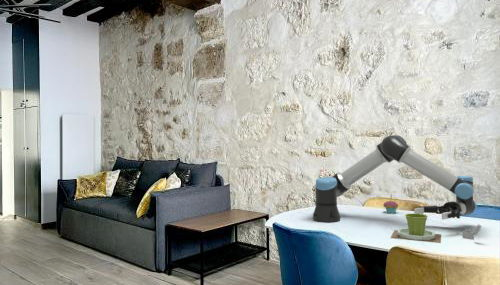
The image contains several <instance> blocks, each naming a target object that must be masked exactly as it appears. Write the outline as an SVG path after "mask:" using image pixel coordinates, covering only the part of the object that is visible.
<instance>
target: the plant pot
mask: <svg viewBox="0 0 500 285" xmlns="http://www.w3.org/2000/svg"><path fill="white" fill-rule="evenodd" d="M404 217H405V219H406V222H407V228H408V229H409V234H410V235H418V236H423V235H424V231H425V229H426V223H427V219H428V218H429V216H428V215H427V214H424V213H423V214H414V213H413V212H412V213H406V214H404Z"/></svg>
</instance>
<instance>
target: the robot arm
mask: <svg viewBox="0 0 500 285" xmlns="http://www.w3.org/2000/svg"><path fill="white" fill-rule="evenodd" d="M407 143H408V142H407V141H406V139H405V138H404V137H403V136H401V135H398V134H393V135H387V136H385V137H384V138H383V139H382V140H381V142H380V143H378V144H377V145H376V146H375V149H374V150H373V151H371V152H370V153H369V154H367V155H366V156H364V157H363V158H362V159H360V160H358V161H357V162H356V163H354V164H352V166H349V168H347V169H346V170H344V171H342V172H337V173H335V174H334V175H332V176H323V177H318V178H316V180H315V185H314V186H315V207H314V210H313V214H312V220H313V221H314V222H321V223H336V222H340V221H341V215H340V211H339V209H338V197H342V195H344V193H346V192H347V191H349V190H351V185H353V184H355V183H356V182H359V180H361V179H362V178H363V177H366V176H367V175H368V174H369V173H372V172H373V171H375V170H376V169H377V168H379V167H380V166H382V165H383V164H385V163H389V164H390V163H391V162H393V161H396V162H397V163H403V164H405V165H406V166H408V167H409V168H410V169H413V170H414V171H417V172H418V173H419V174H421V175H423V176H424V177H426V178H427V179H430V180H431V181H433V182H434V183H436V184H438V185H439V186H441V187H442V188H444V189H446V190H448V191H449V192H451V193H452V194H454V195H455V200H452V201H448V202H447V201H446V202H445V203H444V204H443V205H441V206H439V205H425V206H424V205H423V206H421V205H419V206H418V207H417V208H414V211H413V212H414V214H424V213H430V214H431V213H432V214H438V215H441V220H442V221H443V220H444V221H445V220H449V219H452V218H453V219H455V218H456V219H460V218H461V217H462V216H466V215H470V214H473V213H475V212H476V211H477V208H478V205H477V203H476V201H475V200H474V192H475V190H474V180H473V179H474V178H473V177H472V176H470V175H457V176H456V175H454V174H452V173H451V172H450V171H448V170H446V169H445V168H442V167H441V166H439V165H438V164H435V163H434V162H433V161H431V160H429V159H427V158H425V157H424V156H422V155H420V154H419V153H417V152H416V151H414V150H412V149H411V146H409V145H408V144H407Z"/></svg>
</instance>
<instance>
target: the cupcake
mask: <svg viewBox="0 0 500 285" xmlns="http://www.w3.org/2000/svg"><path fill="white" fill-rule="evenodd" d="M392 196H393V195H392V194H390V197H389V198H390V199H389V201H385V202H384V203H383V208H385V210H386V213H387V214H391V213H393V214H396V212H397V209H398V208H399V204H398V203H397V202H396V201H393V200H392V199H393V198H392Z"/></svg>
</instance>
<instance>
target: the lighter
mask: <svg viewBox="0 0 500 285" xmlns="http://www.w3.org/2000/svg"><path fill="white" fill-rule="evenodd" d="M481 228H483V227H482V225H481V224H477V226H476V227H475V229H474V231H472V229H464V230H462V239H468V240H475V235H478V233H479V231H480V230H481Z"/></svg>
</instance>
